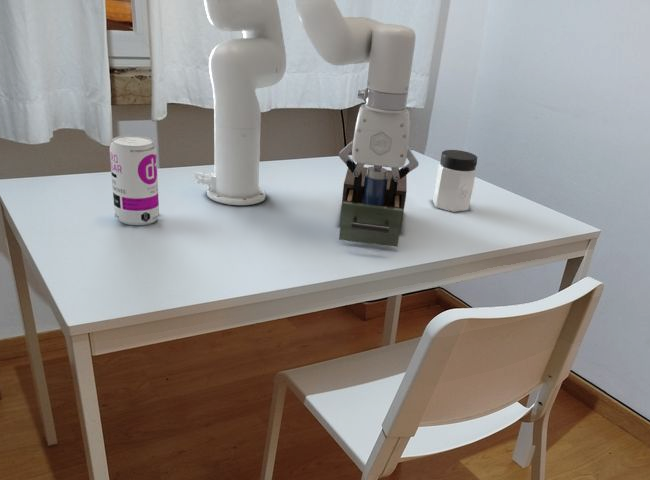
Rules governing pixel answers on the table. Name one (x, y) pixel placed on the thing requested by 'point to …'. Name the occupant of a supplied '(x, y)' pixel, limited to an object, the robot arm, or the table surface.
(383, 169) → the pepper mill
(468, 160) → the jar
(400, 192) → the cabinet
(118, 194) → the supplement can
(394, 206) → the drawer
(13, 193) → the table surface
